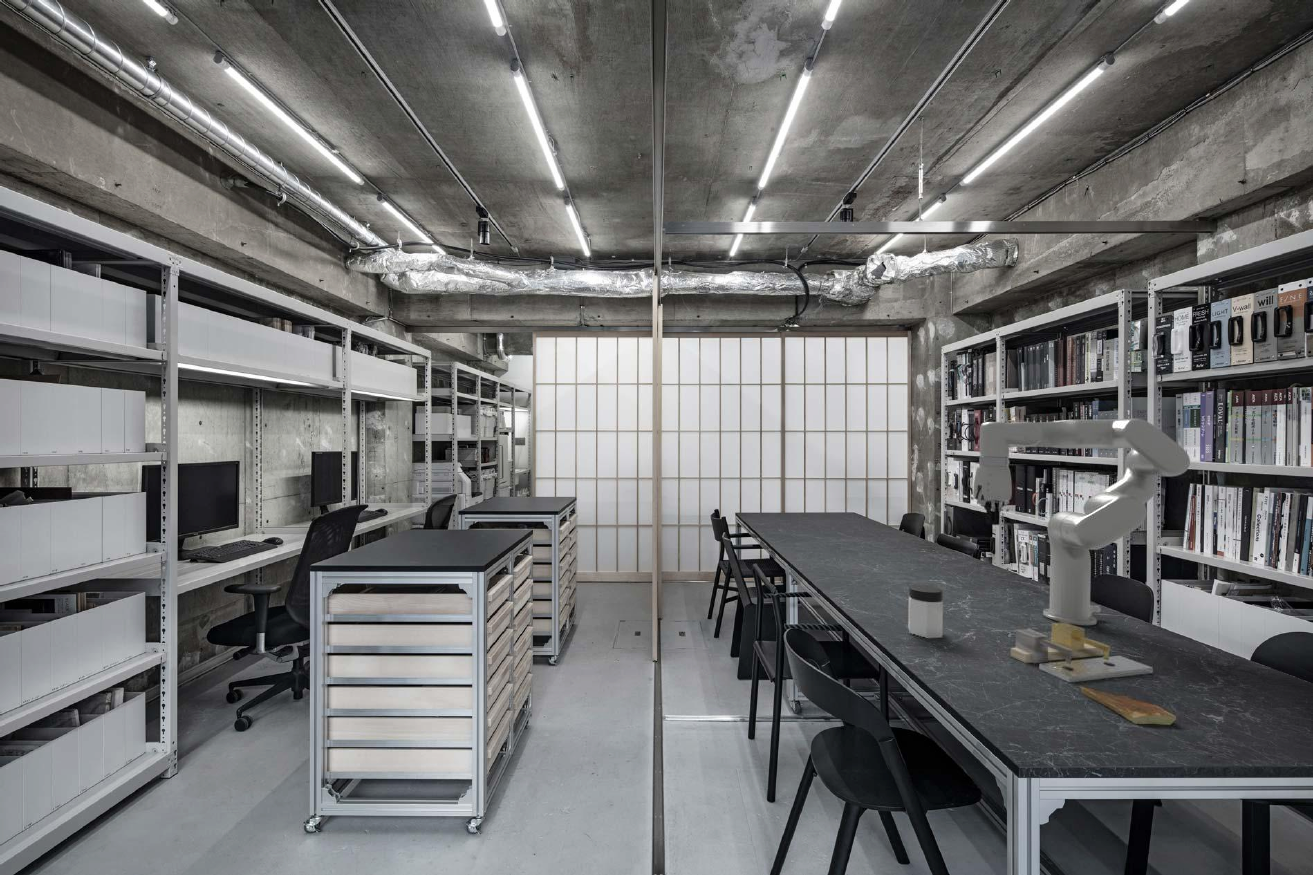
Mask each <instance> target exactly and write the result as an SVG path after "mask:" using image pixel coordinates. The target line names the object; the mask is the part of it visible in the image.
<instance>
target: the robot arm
mask: <svg viewBox="0 0 1313 875" xmlns="http://www.w3.org/2000/svg"><path fill="white" fill-rule="evenodd" d="M1010 447H1012V448H1014V447H1015V448H1030V447H1035V448H1036V447H1037V448H1039V447H1042V448H1058V449H1131V450H1130V451H1128V453H1127V454H1126V457H1125V461H1124V462H1125V463H1124V464H1125V465H1124V466H1125V468H1124V474H1123V476H1122V477H1121V478H1120V479H1118V481H1117V482H1115V483H1113V484H1111V485H1110V486H1108V487H1106V488H1104V489H1103V490H1101V491H1099V492H1098V493H1096V494H1094V495H1092V496H1091V497H1089V498H1088V499H1087V500H1086V501H1085V503H1084V504H1083V513H1081V512H1077V511H1069V510H1063V511H1059V512H1056V513H1055V514H1053V515H1052V516H1051V517H1050V518H1049V520H1048V523H1047V535H1048V540H1049V548H1050V566H1049V567H1050V568H1049V570H1050V571H1049V574H1050V575H1049V608H1045V609H1043V611H1042V612H1043V613H1042V614H1043V616H1044V617H1045V618H1047V619H1050V620H1053V621H1056V622H1058V623H1061V622H1065V623H1068V624H1071V625H1074V626H1094V625H1096V624H1097V621H1098V620H1097V618H1095V617H1094V616H1093V613H1100V612H1102V608H1101V606H1099V605H1093V604H1091V576H1092V575H1091V574H1092V573H1091V571H1092V570H1091V568H1092V563H1091V562H1092V560H1091V553H1090V550H1099V549H1102V548H1105V547H1107V546H1109V545H1111V544H1112V543H1114V542H1116V541H1118V540H1120V539H1121V538H1124V537H1125V536H1126V535H1129V534H1131V533H1132V532H1133V531H1136V530H1137V529H1139V527H1141V526H1142V524H1144V522H1145V520H1146V517H1147V508H1146V506H1145V504H1146V503H1148V501H1150V500H1151V499H1152V498H1153V497H1154V496H1155V493H1156V489H1157V482H1158V481H1157V480H1158V479H1157V477H1178V476H1181V475H1182V474H1184V473H1185V472H1187V471H1188V469H1189V467H1190V465H1191V458H1190V456H1189V454H1188V452H1187V451H1186V450H1185V449H1184V448H1183V447H1182V446H1181V445H1179V444H1178V443H1177V442H1176V441H1175V440H1173V439H1172V438H1171V437H1169V436H1168V435H1167V434H1166V433H1165V432H1163V431H1162V430H1160V429H1159V428H1158V427H1156V426H1155V425H1153V423H1151V422H1148V421H1147V420H1145V419H1142V418H1120V419H1119V418H1118V419H1117V418H1116V419H1115V418H1114V419H1112V418H1111V419H1065V420H1064V419H1063V420H1056V421H1043V422H1039V421H1038V422H1032V421H1013V422H1004V421H987V422H986V421H985V422H983V423H981V425H980V426H979V461H978V462H979V463H978V464H979V466H978V467H976V471H975V475H974V481H973V492H972V493H973V499H974V500H976V504H977V505H980V506H982V507H983V508H984V510H985V511H986V512H985V514H986V516H985V518H986V519H985V523H986V524H987V525H993V526H1000V522H1001V521H1000V518H1001V516H1000V512H1002V510H1003V508H1004V506H1007V505H1010V500H1011V499H1012V492H1013V489H1012V485H1013V483H1012V475H1011V469H1010V468H1009V465H1010V463H1011V462H1010V458H1009V457H1010Z"/></svg>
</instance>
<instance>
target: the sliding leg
mask: <svg viewBox="0 0 1313 875" xmlns="http://www.w3.org/2000/svg"><path fill="white" fill-rule="evenodd" d="M1050 641H1051V642H1053V643H1056V644H1059V645H1061V646H1064V647H1066V648H1069V649H1072V650H1079V649H1084V643H1085V644H1088V645H1091V646H1093V647H1096V648H1099V649H1102V650H1103V655H1102V657H1103V659H1106V660H1109V657H1110V652H1111V646H1110V645H1108V644H1105V643H1103V642H1099V641H1097V640H1094V639H1090V638H1088V637H1085V628H1083V627H1080V626H1078V625H1074V624H1068V623H1065V622H1051V639H1050Z"/></svg>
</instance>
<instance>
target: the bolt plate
mask: <svg viewBox="0 0 1313 875" xmlns="http://www.w3.org/2000/svg"><path fill="white" fill-rule="evenodd" d="M1038 664H1039V667H1038V668H1039V670H1040V671H1043V672H1045V673H1047V674H1049V675H1051V676H1053V677H1056V678H1059V679H1061V680H1063V681H1066V682H1068V683H1075V682H1084V681H1093V680H1101V679H1110V678H1111V679H1113V678H1119V677H1128V676H1129V677H1130V676H1139V675H1146V674H1153V673H1154V672H1153V671H1154V670H1153V667H1152V666H1149V665H1147V664H1144V663H1142V662H1141V663H1140V662H1138V661H1135V660H1132V659H1129V658H1127V657H1124V656H1122V655H1113V656H1109V660H1106V659H1103V656H1101V657H1093V658H1084V659H1074V660H1072V659H1071V664H1068V663H1066V660H1064V661H1056V662H1055V661H1054V662H1053V661H1052V662H1042V663H1038Z"/></svg>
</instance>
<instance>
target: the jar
mask: <svg viewBox="0 0 1313 875" xmlns="http://www.w3.org/2000/svg"><path fill="white" fill-rule="evenodd" d="M943 594H944V592H943V589H942V588H939V587H937V586H934V585H933V586H932V585H928V584H911V585H909V586H908V610H907V611H908V613H907V614H908V615H907V616H908V618H907V619H908V622H907V623H908V624H907V628H908V632H909V634H910V633H911V634H910V635H913V634H915V635H914V636H917V635H919V636H918V637H920V636H921V638H923V637H925V638H924V639H941V638H943V621H944V620H943V619H944V617H943V613H944V612H943V610H944V602H943Z"/></svg>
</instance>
